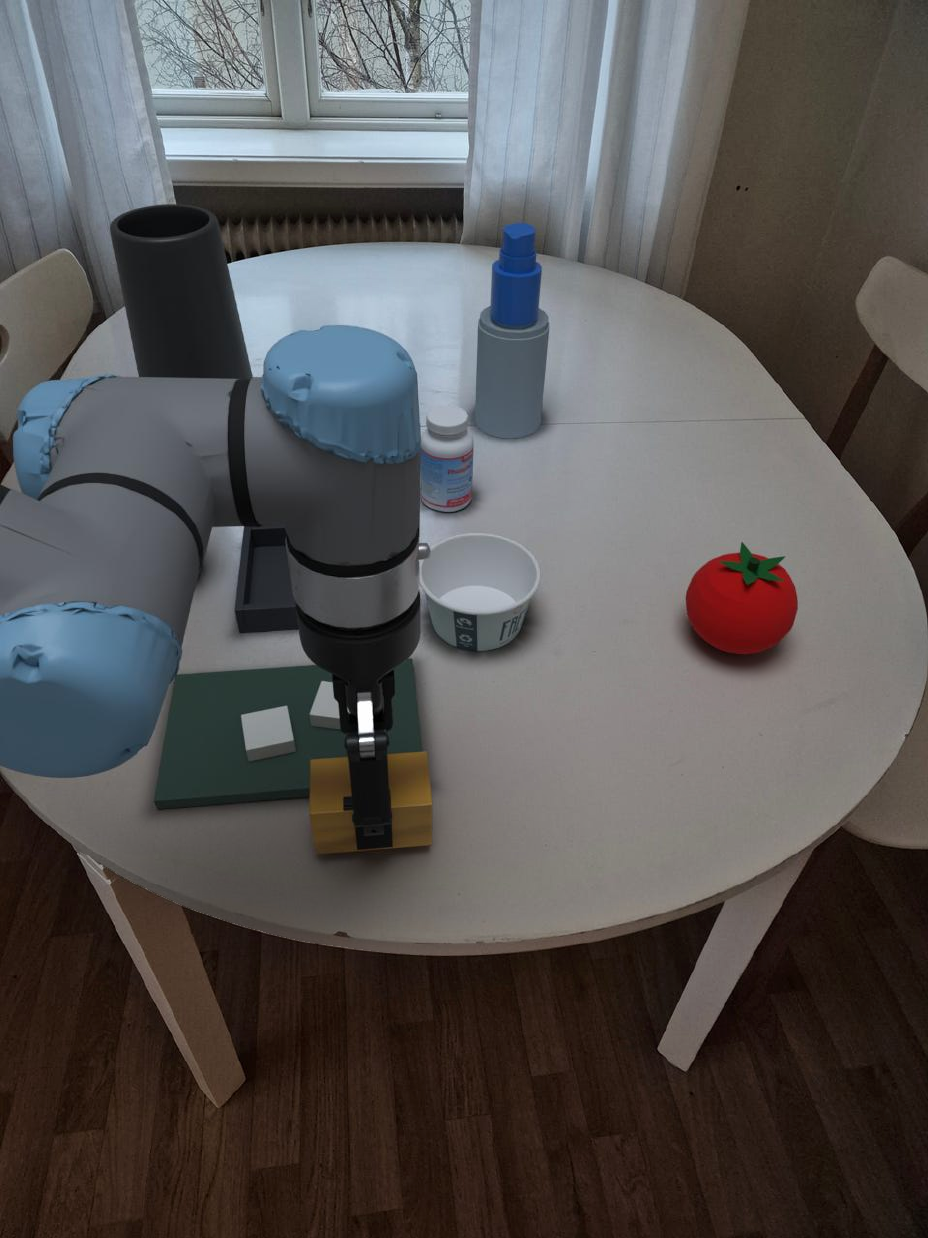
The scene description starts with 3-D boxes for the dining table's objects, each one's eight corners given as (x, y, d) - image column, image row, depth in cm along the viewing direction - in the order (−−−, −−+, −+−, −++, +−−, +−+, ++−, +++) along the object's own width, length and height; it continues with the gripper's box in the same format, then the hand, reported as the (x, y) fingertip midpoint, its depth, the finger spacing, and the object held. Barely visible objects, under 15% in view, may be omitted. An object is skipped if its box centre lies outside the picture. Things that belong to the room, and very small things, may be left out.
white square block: (311, 726, 76) (309, 714, 75) (323, 692, 79) (321, 680, 77) (355, 731, 75) (354, 720, 74) (365, 697, 78) (364, 686, 77)
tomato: (658, 614, 89) (676, 537, 82) (745, 593, 91) (770, 517, 84) (711, 686, 82) (736, 609, 75) (804, 661, 84) (836, 584, 77)
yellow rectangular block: (432, 845, 67) (432, 804, 63) (315, 855, 66) (309, 814, 62) (426, 792, 71) (427, 750, 67) (316, 801, 70) (310, 759, 66)
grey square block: (248, 762, 73) (245, 750, 72) (243, 726, 75) (240, 714, 74) (296, 751, 74) (293, 740, 72) (289, 717, 76) (287, 705, 75)
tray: (239, 633, 86) (234, 610, 83) (248, 547, 95) (243, 524, 93) (336, 626, 86) (334, 604, 84) (335, 542, 96) (333, 520, 94)
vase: (275, 432, 112) (240, 197, 92) (264, 493, 103) (222, 245, 83) (168, 434, 112) (110, 197, 92) (147, 496, 102) (77, 246, 82)
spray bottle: (494, 397, 120) (504, 209, 103) (552, 415, 117) (571, 224, 100) (462, 426, 115) (466, 232, 97) (521, 445, 111) (536, 248, 94)
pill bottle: (456, 519, 100) (457, 435, 92) (411, 503, 102) (409, 419, 94) (480, 493, 104) (484, 410, 96) (437, 478, 106) (437, 396, 98)
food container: (440, 570, 93) (440, 521, 89) (547, 594, 91) (553, 546, 86) (400, 645, 85) (398, 595, 80) (518, 674, 82) (523, 624, 78)
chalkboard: (157, 809, 71) (153, 801, 70) (178, 683, 81) (175, 674, 80) (424, 787, 73) (424, 778, 72) (412, 666, 83) (412, 658, 82)
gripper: (434, 701, 45) (431, 915, 61) (409, 500, 58) (412, 720, 74) (289, 711, 45) (325, 925, 61) (297, 504, 58) (325, 726, 74)
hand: (373, 812), depth 68 cm, fingers closed on yellow rectangular block, 5 cm apart
